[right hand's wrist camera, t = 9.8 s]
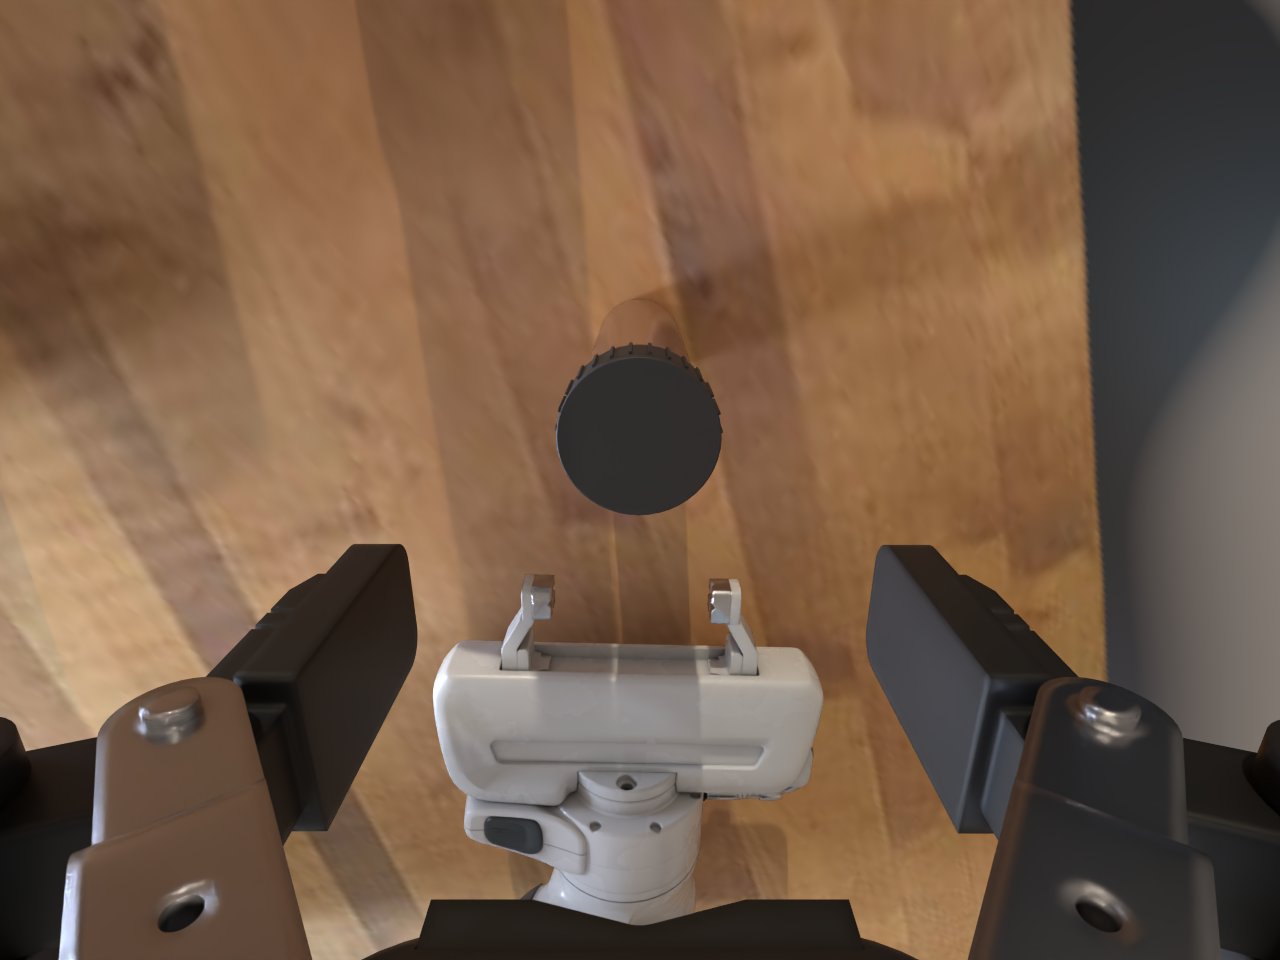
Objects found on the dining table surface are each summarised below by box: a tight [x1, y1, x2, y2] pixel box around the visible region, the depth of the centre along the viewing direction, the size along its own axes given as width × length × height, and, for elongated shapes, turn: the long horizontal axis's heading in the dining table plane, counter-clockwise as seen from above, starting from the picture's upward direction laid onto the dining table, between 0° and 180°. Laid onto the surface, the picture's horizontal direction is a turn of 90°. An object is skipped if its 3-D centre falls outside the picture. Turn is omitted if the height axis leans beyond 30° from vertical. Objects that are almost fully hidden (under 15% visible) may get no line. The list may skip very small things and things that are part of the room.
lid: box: [555, 342, 723, 515], centre depth 20 cm, size 5×5×2 cm
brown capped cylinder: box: [587, 299, 691, 364], centre depth 28 cm, size 4×4×18 cm
